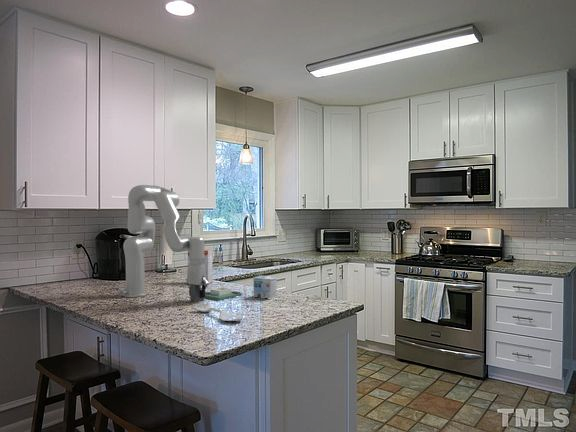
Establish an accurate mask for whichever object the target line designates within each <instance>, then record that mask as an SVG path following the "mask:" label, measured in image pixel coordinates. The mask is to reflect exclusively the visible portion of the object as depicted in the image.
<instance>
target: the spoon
mask: <svg viewBox="0 0 576 432" xmlns="http://www.w3.org/2000/svg"><path fill="white" fill-rule="evenodd" d="M190 307H191V308H192V309H194V310H196V311H199V312H202V313H209V312H211V311H213V312H217V313H219V319H220V320H221V321H223V322H225V321H236V322H239V321H242V320H243V319H244V318H245V317H244V316H242V315H236V314H232V313H229V312H225V311H223V310H222V309H221V308H215V307H212V306H211V305H210V303H209V302H206V303H204V304H202V305H190ZM229 317H237V319H232V320H226V319H225V318H229Z"/></svg>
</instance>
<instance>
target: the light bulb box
mask: <svg viewBox="0 0 576 432" xmlns="http://www.w3.org/2000/svg"><path fill="white" fill-rule="evenodd" d="M277 280H278V279H277V276H268V275H257V276H254V277H253V298H255V297H260V298H259V299H262V298H273V297H276V296H277V295H278V292H277V288H278V285H277V283H278V281H277ZM276 298H277V297H276ZM273 299H274V298H273Z"/></svg>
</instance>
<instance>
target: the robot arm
mask: <svg viewBox="0 0 576 432" xmlns="http://www.w3.org/2000/svg"><path fill="white" fill-rule="evenodd" d="M127 201H128V202H127V204H128V209H127V210H128V214H127V230H128V232H129V234H132V235H134V236H130V237H128V238H126V239H125V240H124V242H123V245H122V248H123V251H124V253H123V254H124V257H125V286H124V287H123V288H122V289H117V290H116V294H117V295H122V296H123V297H124V298H139V297H145V296H147V295H148V293H149V292H148V291H146V289H145V287H146V285H145V279H146V278H145V259H144V256H143V254H145V253H149V252H151V251H152V250H153V249H154V246H155V238H156V223H155V220H154V219H153V217H151V216H150V215H149V216H148V215H146V206H145V203H144V202H154V203H155V205H156V207H157V210H158V212H159V214H160V215H161V219H162V220H163V222H164V224H163V225H164V226H163V236H164V239H165V242H166V243H167V245H168V247H169V249H170V250H171V251H172V252H174V253H183V252H188V251H189V265H188V264H187V273H186V276H187V277H186V279H185V282H186V284H187V288H188V291H189V292H188V295H189V297H190V284H194V285H199V287H200V290H199V298H204V297H205V292H206V290H207V287H208V286H209V284H208V281H207V280H206V270H205V265H204V250H205V239H204V238H203V237H201V236H194V237H193V236H189V235H187V236H186V235H184V236H179V235H178V232H177V229H176V223H177V222H178V221H179V220H180V218H181V214H180V213H179V211H178V208H177V207H178V206H179V204H180V196H179V195H178V194H177V193H176V192H174V191H172V190H170V189H167V188H164V187H162V186H160V185H159V186H158V185H153V184H152V185H149V184H139V185H136V186H133V187H132V188H131V189H130V190H129V192H128V198H127ZM201 283H202V284H201ZM201 285H203V286H201ZM204 299H205V298H204Z"/></svg>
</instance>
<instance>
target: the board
mask: <svg viewBox="0 0 576 432" xmlns="http://www.w3.org/2000/svg"><path fill="white" fill-rule="evenodd" d="M241 295H242V296H243V292H241V291H236V290H234V291H232V288H231V287H225V286H219V287H215V288H211V289H210V291H205V297H204V299H207V300H212V299H213V301H217V300H222V301H225V300H224V299H227V300H230V299H229V298H231V299H233V298H232V297H235V298H237V297H236V296H239V297H242V296H241Z"/></svg>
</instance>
